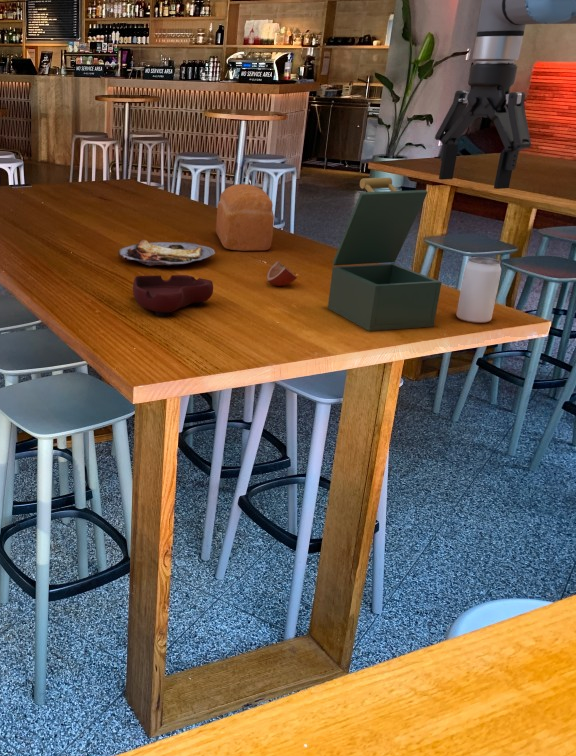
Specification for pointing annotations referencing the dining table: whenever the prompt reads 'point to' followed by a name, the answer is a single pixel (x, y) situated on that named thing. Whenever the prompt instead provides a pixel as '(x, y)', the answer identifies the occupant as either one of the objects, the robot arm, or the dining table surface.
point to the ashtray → (170, 292)
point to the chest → (384, 296)
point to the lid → (378, 223)
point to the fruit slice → (280, 275)
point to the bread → (245, 218)
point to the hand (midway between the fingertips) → (472, 183)
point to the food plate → (165, 253)
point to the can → (479, 290)
